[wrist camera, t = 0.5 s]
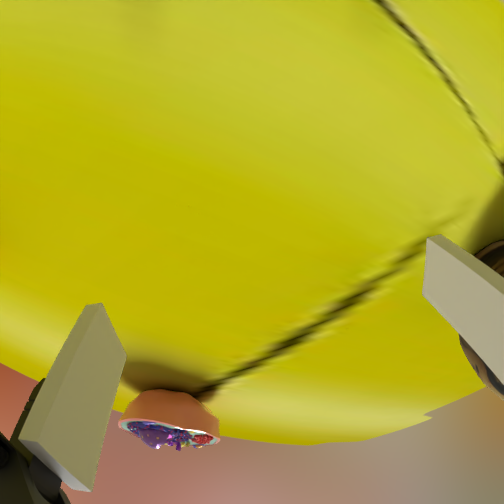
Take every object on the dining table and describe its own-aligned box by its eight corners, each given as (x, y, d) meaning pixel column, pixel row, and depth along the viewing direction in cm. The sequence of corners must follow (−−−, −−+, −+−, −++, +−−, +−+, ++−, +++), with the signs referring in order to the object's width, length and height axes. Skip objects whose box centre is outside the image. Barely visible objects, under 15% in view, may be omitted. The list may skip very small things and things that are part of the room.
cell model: (178, 414, 63) (175, 461, 55) (105, 381, 51) (95, 437, 43) (242, 403, 57) (242, 458, 49) (167, 366, 45) (160, 436, 37)
